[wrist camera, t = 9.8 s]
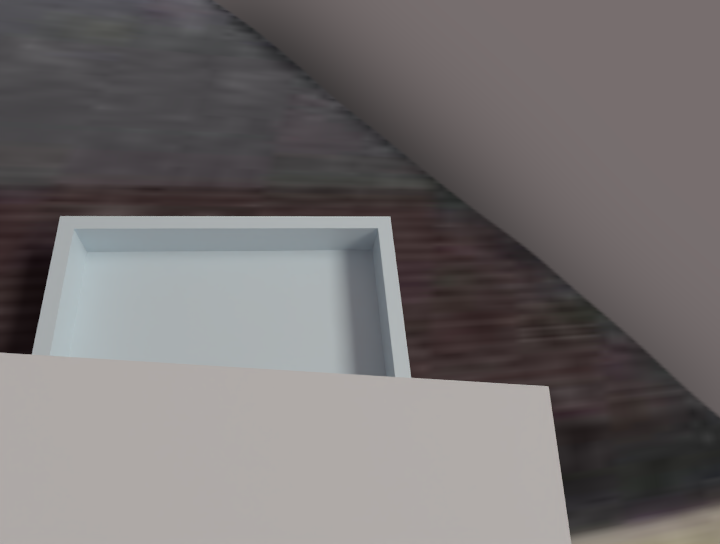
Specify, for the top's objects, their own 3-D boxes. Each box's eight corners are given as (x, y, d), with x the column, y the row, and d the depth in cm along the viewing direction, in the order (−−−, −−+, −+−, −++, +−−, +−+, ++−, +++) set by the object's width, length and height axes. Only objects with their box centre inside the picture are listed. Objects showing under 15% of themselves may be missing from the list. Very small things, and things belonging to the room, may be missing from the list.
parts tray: (38, 458, 27) (13, 444, 25) (77, 245, 33) (60, 216, 31) (405, 437, 30) (417, 423, 27) (382, 243, 36) (390, 216, 33)
